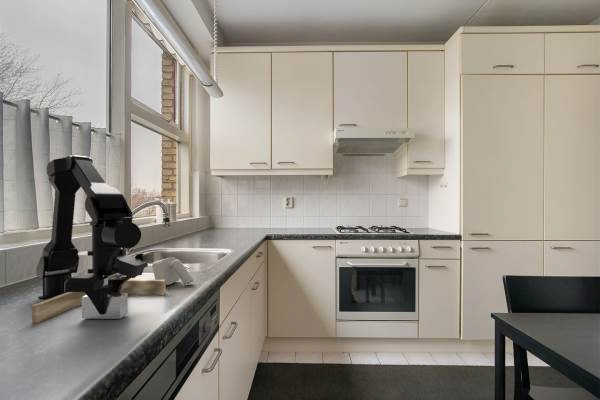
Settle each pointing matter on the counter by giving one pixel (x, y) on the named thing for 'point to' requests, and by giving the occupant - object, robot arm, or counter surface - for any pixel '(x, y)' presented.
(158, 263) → the wall hook
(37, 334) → the counter surface
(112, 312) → the bracket
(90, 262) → the white cup
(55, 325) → the counter surface
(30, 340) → the counter surface
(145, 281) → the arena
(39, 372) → the counter surface
